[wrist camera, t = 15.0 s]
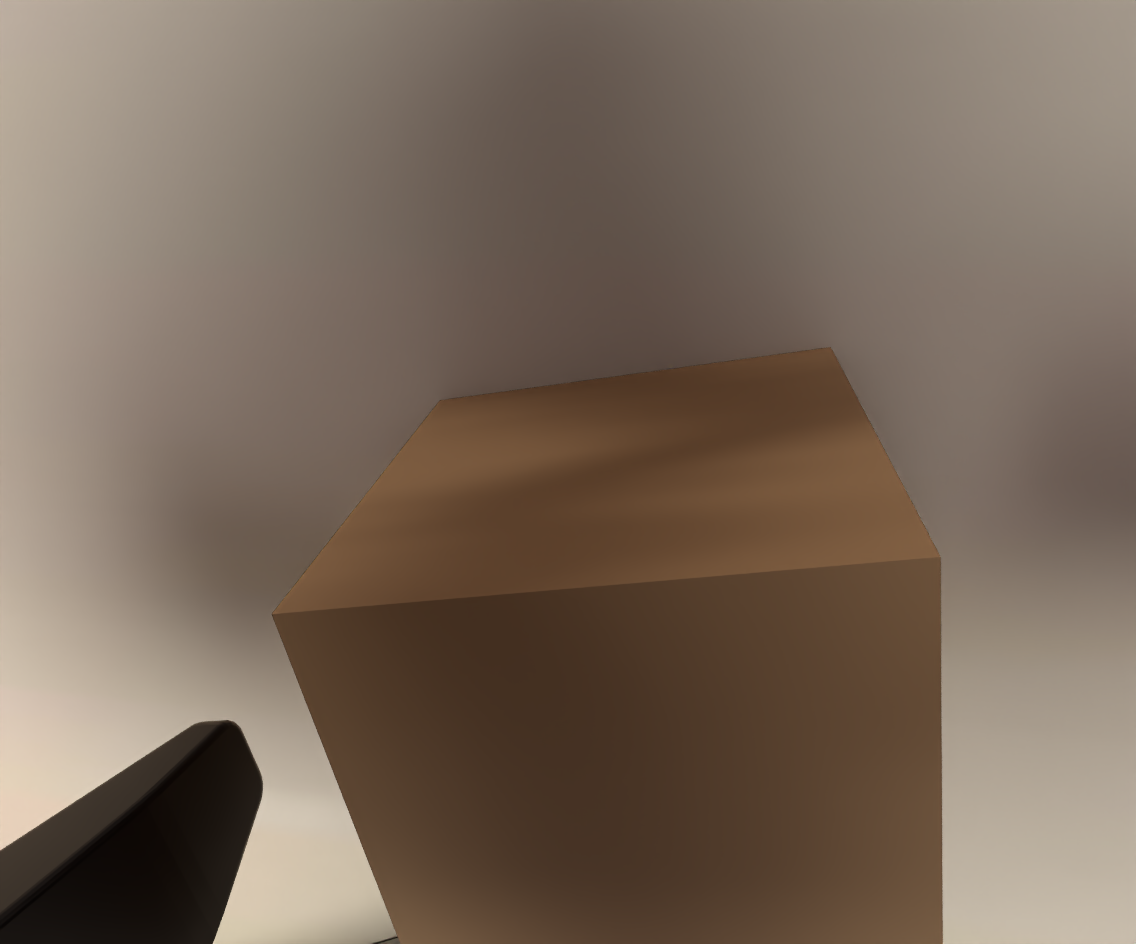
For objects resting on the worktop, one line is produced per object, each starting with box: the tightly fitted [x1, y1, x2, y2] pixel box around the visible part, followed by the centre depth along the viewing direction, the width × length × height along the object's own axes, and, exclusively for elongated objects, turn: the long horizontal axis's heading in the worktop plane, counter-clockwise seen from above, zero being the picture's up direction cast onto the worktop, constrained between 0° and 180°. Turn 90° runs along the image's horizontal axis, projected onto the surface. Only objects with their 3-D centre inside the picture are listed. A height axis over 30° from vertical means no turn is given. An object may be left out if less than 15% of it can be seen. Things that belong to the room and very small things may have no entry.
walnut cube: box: [272, 347, 943, 944], centre depth 9 cm, size 5×5×5 cm
